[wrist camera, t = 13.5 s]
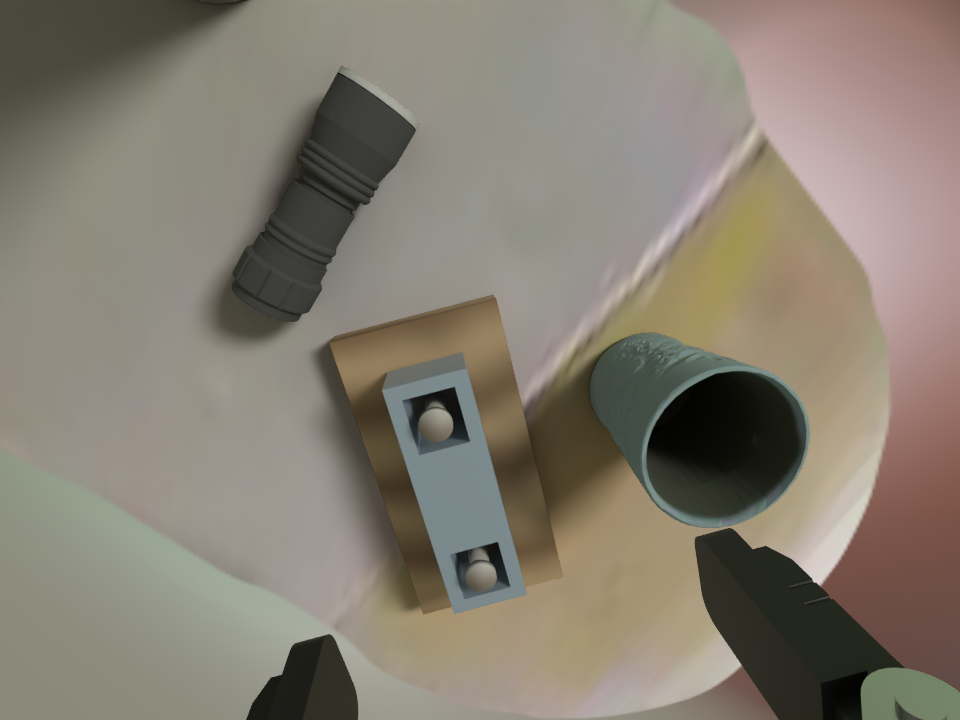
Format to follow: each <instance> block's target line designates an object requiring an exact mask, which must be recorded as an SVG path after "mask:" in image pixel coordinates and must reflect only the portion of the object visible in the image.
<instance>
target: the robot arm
mask: <svg viewBox="0 0 960 720" xmlns="http://www.w3.org/2000/svg"><path fill="white" fill-rule="evenodd" d="M199 1H202V2H208V3H217V4H223V3H231V2H237V1H240V0H199ZM695 550H696V557H697V563H698V570H699V577H700V584H701V591H702V596H703V600H704V603H705V606H706V608H707V611H708V613H709V615H710V617H711V619H712V621H713V623H714V625H715V626H716V628H717V629H718V631H719V632H720V634H721V635H722V637H723V638H724V640H725V641H726V642H727V644H728V645H729V647H730V648H731V650H732V651H733V653H734V654H735V656H736V657H737V659H738V660H739V662H740V663H741V664H742V666H743V667H744V669H745V670H746V672H747V673H748V675H749V676H750V678H751V679H752V681H753V682H754V683H755V685H756V687H757V688H758V689H759V691H760V692H761V694H762V695H763V697H764V698H765V700H766V701H767V702H768V704H769V706H770V707H771V709H772V710H773V711H774V713H775V714H776V716H777V717H778V719H779V720H960V692H958V691H957V690H956V689H954V688H953V687H951V686H950V685H948V684H947V683H945V682H943V681H941V680H939V679H937V678H935V677H933V676H930V675H928V674H925V673H922V672H919V671H915V670H911V669H906V668H904V667H903V666H902V665H901V664H900V663H899V662H898V661H897V660H896V659H895V658H893V657H892V656H891V655H890V654H889V653H888V652H887V651H886V650H885V649H884V648H883V647H882V646H881V645H880V644H879V643H878V642H877V641H876V640H875V639H874V638H873V637H872V636H871V635H869V633H868V632H866V630H865V629H864V628H862V627H861V626H860V625H859V624H858V623H857V622H856V621H855V620H854V619H853V618H852V617H851V616H850V615H849V614H848V613H847V612H846V611H845V610H844V609H843V608H842V607H841V606H840V605H839V604H838V603H836V601H834V600H833V599H830V597H829V595H828V594H827V593H826V592H825V591H824V590H823V589H822V588H821V587H820V586H819V585H818V584H817V583H814V582H813V580H812V578H811V577H810V576H809V575H808V574H807V573H806V572H805V571H804V570H802V569H801V568H800V567H799V566H798V565H797V564H796V563H795V562H794V561H793V560H792V559H790V558H788V557H786V556H784V555H782V554H780V553H779V552H777V551H775V550H773V549H771V548H769V547H767V546H764V547H760V548H756V549H752V548H751V547H750V546H749V545H748V544H747V543H746V542H745V541H744V540H743V539H742V538H741V536H740V535H739V534H738V533H737V532H736V531H735V530H733V529H731V528H728V529H724V530H720V531H716V532H713V533H709V534H705V535H701V536H698V537H696V538H695ZM246 720H358V701H357V695H356V690H355V687H354V684H353V682H352V679H351V677H350V675H349V672H348V670H347V667H346V665H345V662H344V660H343V658H342V655H341V653H340V651H339V648H338V646H337V643H336V641H335V639H334V638H333V636H331V635H330V634H328V635H324V636H321V637H317V638H313V639H309V640H306V641H302V642H299V643H295V644H294V645H293V646H292V648H291V650H290V652H289V655H288V658H287V661H286V664H285V667H284V670H283V674H282V675H279V676H276V677H272V678H270V680H269V681H268V682H267V684H266V685H265V687H264V688H263V690H262V691H261V692H260V694H259V695H258V696H257V698H256V699H255V701H254V702H253V703H252V706H251V709H250V711H249V714H248V717H247V719H246Z"/></svg>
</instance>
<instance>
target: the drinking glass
mask: <svg viewBox="0 0 960 720" xmlns="http://www.w3.org/2000/svg"><path fill="white" fill-rule="evenodd" d="M590 399H591V403H592V407H593V410H594V411H595V413H596V415H597V417H598V418H599V420H600V421H601V423H602V424H603V425H604V426H605V427H606V428H607V429H608V430H609V432H610V434H611V436H612V438H613V441H614V442H615V444H616V445H617V446H618V447H620V449H621V451H622V453H623V455H624V457H625V458H626V460H627V462H628V464H629V465H630V467H631V469H632V470H633V472H634V473H635V475H636V477H637V478H638V480H639V481H640V483H641V484H642V486H643V487H644V489H645V490H646V492H647V493H648V495H649V496H650V498H651V500H652V501H653V502H654V503H655V504H656V505H657V507H659V508H660V509H661V510H662V511H663V512H665V513H666V514H668V515H669V516H670V517H672V518H674V519H676V520H677V521H679V522H681V523H684V524H687V525H690V526H696V527H702V528H719V527H725V526H731V525H735V524H738V523H742V522H744V521H746V520H748V519H751V518H753V517H755V516H757V515H758V514H760V513H762V512H763V511H765V510H766V509H768V508H769V507H770V506H772V505H773V504H774V503H775V502H777V501H778V500H779V499H780V498H781V497H782V496H783V495H784V494H785V493H786V491H787V490H788V489H789V487H790V486H791V485H792V484H793V482H794V481H795V479H796V478H797V476H798V474H799V472H800V470H801V468H802V466H803V463H804V460H805V458H806V454H807V451H808V446H809V437H810V432H809V422H808V416H807V413H806V411H805V408H804V406H803V403H802V401H801V400H800V398H799V397H798V395H797V394H796V392H795V391H794V390H793V389H792V388H791V387H790V386H788V385H787V384H786V383H785V382H784V381H783V380H782V379H780V378H779V377H778V376H776V375H774V374H772V373H770V372H768V371H766V370H763V369H760V368H757V367H754V366H751V365H748V364H745V363H742V362H739V361H736V360H733V359H731V358H727V357H723V356H719V355H717V354H714V353H711V352H706V351H705V350H703V349H700V348H695V347H691V346H687V345H684V344H683V343H681V342H680V341H678V340H677V339H674V338H671V337H668V336H665V335H662V334H657V333H641V334H635V335H633V336H629V337H627V338H625V339H623V340H621V341H619V342H618V343H616V344H613V346H612V347H610V348H609V349H608V350H607V351H605V352H604V353H603V355H602V356H601V357H600V358H599V360H598V362H597V364H596V365H595V368H594V370H593V373H592V376H591V380H590Z"/></svg>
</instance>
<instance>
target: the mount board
mask: <svg viewBox="0 0 960 720" xmlns="http://www.w3.org/2000/svg"><path fill="white" fill-rule="evenodd" d="M329 344H330V347H331V350H332V353H333V355H334V358H335V361H336V364H337V367H338V370H339V373H340V376H341V378H342V381H343V384H344V387H345V390H346V393H347V396H348V399H349V402H350V404H351V407H352V410H353V413H354V416H355V419H356V422H357V425H358V427H359V430H360V433H361V436H362V439H363V442H364V445H365V448H366V450H367V453H368V456H369V459H370V462H371V465H372V468H373V471H374V473H375V476H376V479H377V482H378V485H379V488H380V491H381V494H382V496H383V499H384V502H385V505H386V508H387V511H388V514H389V517H390V519H391V522H392V525H393V528H394V531H395V534H396V537H397V540H398V543H399V545H400V548H401V551H402V554H403V557H404V560H405V563H406V566H407V568H408V571H409V574H410V577H411V580H412V583H413V586H414V589H415V591H416V594H417V597H418V600H419V603H420V606H421V609H422V612H423V614H427V613H430V612H434V611H438V610H442V609H445V608H449V607H452V605H451V602H450V599H449V596H448V593H447V590H446V587H445V584H444V581H443V577H442V574H441V571H440V568H439V565H438V562H437V559H436V556H435V553H434V550H433V547H432V543H431V540H430V537H429V534H428V531H427V528H426V525H425V522H424V519H423V516H422V513H421V509H420V506H419V503H418V500H417V497H416V494H415V491H414V488H413V485H412V482H411V479H410V475H409V472H408V469H407V466H406V463H405V460H404V457H403V454H402V451H401V448H400V445H399V441H398V438H397V435H396V432H395V429H394V426H393V423H392V420H391V417H390V414H389V411H388V407H387V404H386V401H385V398H384V395H383V392H382V389H383V385H384V382H385V379H386V376H387V372H388V371H392V370H396V369H400V368H404V367H408V366H411V365H415V364H419V363H423V362H427V361H431V360H434V359H438V358H442V357H446V356H450V355H453V354H457V353H461V352H463V354H464V358H465V362H466V365H467V369H468V373H469V377H470V380H471V384H472V388H473V392H474V395H475V399H476V403H477V407H478V410H479V414H480V418H481V422H482V425H483V429H484V433H485V436H486V440H487V444H488V448H489V451H490V455H491V459H492V463H493V466H494V470H495V474H496V478H497V481H498V485H499V489H500V493H501V496H502V500H503V504H504V508H505V511H506V515H507V519H508V523H509V526H510V530H511V534H512V537H513V541H514V545H515V549H516V552H517V556H518V560H519V564H520V568H521V573H522V577H523V581H524V585H525V587H527V586H531V585H535V584H538V583H542V582H546V581H549V580H553V579H557V578H561V577H563V574H562V570H561V566H560V561H559V557H558V553H557V549H556V545H555V541H554V537H553V532H552V528H551V524H550V520H549V516H548V512H547V508H546V503H545V499H544V495H543V491H542V487H541V483H540V479H539V474H538V470H537V466H536V462H535V458H534V454H533V449H532V445H531V441H530V437H529V433H528V429H527V425H526V420H525V416H524V412H523V408H522V404H521V400H520V396H519V391H518V387H517V383H516V379H515V375H514V371H513V366H512V362H511V358H510V354H509V350H508V346H507V342H506V337H505V333H504V329H503V325H502V321H501V317H500V313H499V308H498V304H497V300H496V298H495V297H494V295H491V296H487V297H483V298H479V299H475V300H472V301H468V302H464V303H460V304H456V305H453V306H449V307H445V308H441V309H437V310H433V311H430V312H426V313H422V314H418V315H414V316H411V317H407V318H403V319H399V320H395V321H391V322H388V323H384V324H380V325H376V326H372V327H369V328H365V329H361V330H357V331H353V332H349V333H346V334H342V335H338V336H335V337H334V338H333V339H332V340H331V341H330V343H329ZM411 401H412V404H413V407H414V411H415V414H416V417H417V420H418V429H419V432H420V434H421V436H422V437H423V438H424V439H426V440H427V441H430V442H441V441H444V440H445V439H447V438H448V437H449V436H450V435H451V433H452V430H453V422H456V421H460V420H464V418H463V414H462V411H461V407H460V403H459V400H458V396H457V393H456V389H455V387H452V388H448V389H444V390H440V391H437V392H433V393H429V394H425V395H421V396H418V397H414V398H411ZM499 553H501V551H500V547H499V544H498V542H495V543H492V544H488V545H484V546H480V547H477V548H473V549H469V550H465V551H462V552H458V554H459V557H460V560H461V563H465V562H469V565H468V567H467V568H466V571H465V579H466V584H467V586H468V587H469V588H470V589H471V590H473V591H477V592H483V591H487V590H489V589H491V588H492V587H493V586H494V585H495V583H496V580H497V575H496V569H495V567H494V565H493V564H492V563H491V562H489V556H491V555H495V554H499Z"/></svg>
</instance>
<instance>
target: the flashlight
mask: <svg viewBox="0 0 960 720" xmlns="http://www.w3.org/2000/svg"><path fill="white" fill-rule="evenodd" d="M419 125H420V124H419V122H418V121H417V120H416V118H415V117H414V116H413V115H412V114H410V113H409V112H408V111H407V110H406V109H405V108H403V107H402V106H401V105H400V104H399V103H397V102H396V101H395V100H394V99H393V98H391V97H390V96H389V95H387V94H386V93H385V92H383V91H382V90H381V89H379V88H378V87H376V86H375V85H373V84H372V83H371V82H369V81H368V80H366V79H365V78H363V77H362V76H360V75H359V74H357V73H356V72H354V71H352V70H350V69H348V68H346V67H344V66H341V67H340V69H339V71H338V73H337V75H336V77H335V78H334V80H333V82H332V84H331V86H330V88H329V90H328V91H327V93H326V95H325V97H324V99H323V101H322V103H321V104H320V106H319V108H318V110H317V113H316V117H315V121H314V125H313V129H312V133H311V137H310V139H307V140H306V142H305V143H306V146H305V147H303V148H302V149H301V152H302V154H300V155H298V156H297V160H298V162H299V163H300V164H301V165H302V168H301V170H300V172H299V175H300V178H299V180H298V179H293V180H292V182H291V184H290V186H289V188H288V189H287V191H286V193H285V195H284V197H283V199H282V200H281V202H280V204H279V206H278V208H277V210H276V212H275V213H273V214H271V216H270V218H269V222H268V223H266V224H265V228H266V230H265V232H261V233H260V234H259V236H258V238H257V240H256V241H255V243H254V245H252V246H247V247H246V249H245V251H244V252H243V254H242V256H241V258H240V260H239V262H238V264H237V266H236V267H235V269H234V271H233V276H234V278H235V280H234V282H233V284H232V290H233V292H234V293H235V294H236V295H237V296H238V297H239V298H240V299H241V300H242V301H244V302H245V303H247V304H248V305H250V306H251V307H253V308H255V309H256V310H258V311H260V312H262V313H264V314H266V315H269V316H271V317H274V318H277V319H280V320H283V321H289V322H295V321H297V320H299V318H300V316H301V315H302V314H304V313H307V312H309V311H310V309H311V307H312V305H313V304H314V302H315V300H316V299H317V297H318V295H319V293H320V292H321V290H322V285H321V280H322V278H323V276H324V275H325V273H326V271H327V269H326V265H327V264H329V263H331V261H332V257H333V256H335V255H336V248H337V246H338V244H339V243H340V241H341V239H342V237H343V236H344V234H345V232H346V230H347V229H348V227H349V225H350V223H351V222H352V220H353V218H354V217H355V216H354V215H353V214H352V213H351V212H352V211H353V210H356V209H357V207H358V206H359V204H360V203H362V204H364V205H367V204H369V203H370V198H371V197H373V196H374V190H377V189H378V187H379V186H378V183H379V182H380V181H381V180H382V179H383V178H384V177H385V176H386V175H387V174H388V173H389V172H390V171H391V170H392V169H393V168H394V167H395V166H396V164H397V162H398V161H399V159H400V157H401V156H402V154H403V152H404V150H405V149H406V147H407V145H408V143H409V142H410V140H411V138H412V137H413V135H414V133H415V131H416V130H417V128H418V126H419Z"/></svg>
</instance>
